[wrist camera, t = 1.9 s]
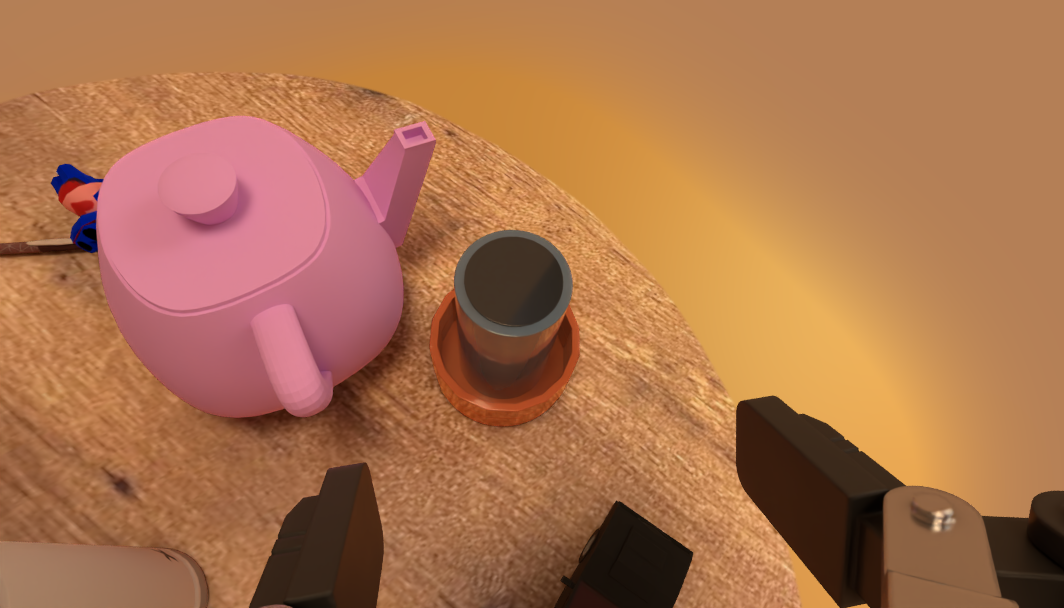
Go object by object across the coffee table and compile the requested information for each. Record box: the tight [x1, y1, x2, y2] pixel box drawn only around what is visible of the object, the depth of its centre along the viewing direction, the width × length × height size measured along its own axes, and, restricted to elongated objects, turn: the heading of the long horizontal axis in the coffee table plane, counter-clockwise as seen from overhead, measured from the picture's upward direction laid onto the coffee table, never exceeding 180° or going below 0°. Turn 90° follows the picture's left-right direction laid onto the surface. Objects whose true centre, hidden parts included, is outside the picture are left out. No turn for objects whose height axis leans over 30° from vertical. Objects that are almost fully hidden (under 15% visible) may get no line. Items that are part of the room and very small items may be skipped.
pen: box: [0, 238, 82, 254], centre depth 40 cm, size 11×1×1 cm, turn 97°
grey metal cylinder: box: [454, 230, 573, 399], centre depth 35 cm, size 6×6×12 cm
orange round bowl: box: [429, 289, 580, 427], centre depth 39 cm, size 9×9×4 cm
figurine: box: [51, 164, 104, 253], centre depth 40 cm, size 5×8×5 cm, turn 37°
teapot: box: [96, 116, 436, 418], centre depth 34 cm, size 20×20×15 cm
